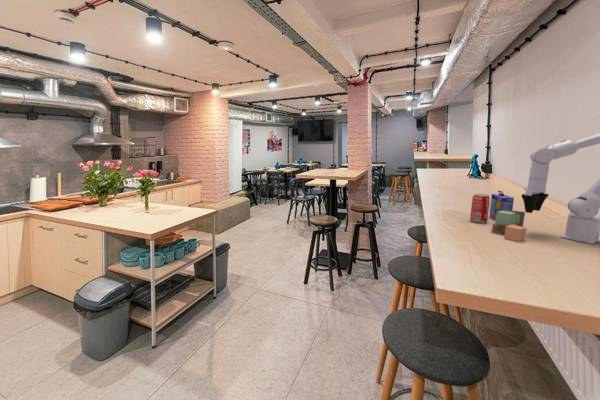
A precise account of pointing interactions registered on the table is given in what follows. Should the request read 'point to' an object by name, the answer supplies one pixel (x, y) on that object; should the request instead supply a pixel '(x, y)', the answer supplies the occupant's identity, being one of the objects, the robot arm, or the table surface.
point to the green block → (505, 218)
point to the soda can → (480, 208)
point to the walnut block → (499, 228)
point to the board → (518, 217)
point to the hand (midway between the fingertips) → (532, 211)
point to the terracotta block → (515, 233)
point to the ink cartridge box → (500, 204)
